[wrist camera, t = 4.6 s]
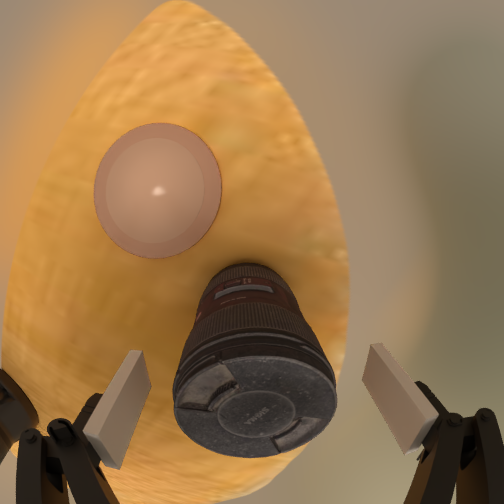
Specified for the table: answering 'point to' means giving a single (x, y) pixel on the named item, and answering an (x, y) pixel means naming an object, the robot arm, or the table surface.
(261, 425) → the camera lens
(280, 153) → the table surface
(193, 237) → the plate
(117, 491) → the table surface
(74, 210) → the table surface
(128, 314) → the table surface
